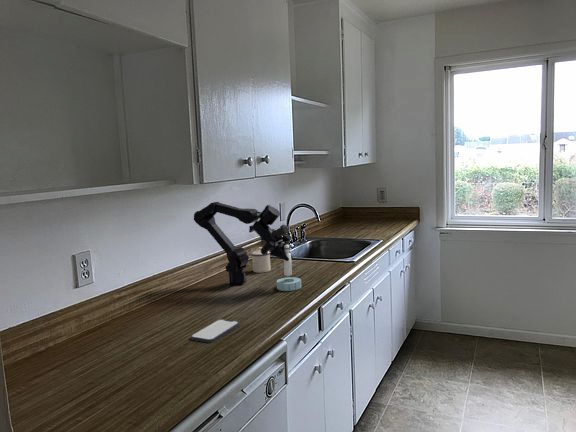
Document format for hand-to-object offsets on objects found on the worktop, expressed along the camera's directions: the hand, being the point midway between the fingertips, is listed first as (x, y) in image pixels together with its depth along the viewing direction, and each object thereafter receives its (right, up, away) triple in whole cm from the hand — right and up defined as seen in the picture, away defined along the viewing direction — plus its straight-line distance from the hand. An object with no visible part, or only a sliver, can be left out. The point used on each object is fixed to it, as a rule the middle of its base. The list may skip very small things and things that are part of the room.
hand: (290, 259), depth 197 cm
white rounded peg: (-1, -6, +1) cm, 7 cm away
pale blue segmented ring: (0, -12, +2) cm, 12 cm away
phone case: (-24, -20, -44) cm, 54 cm away
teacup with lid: (-15, -9, +35) cm, 39 cm away
